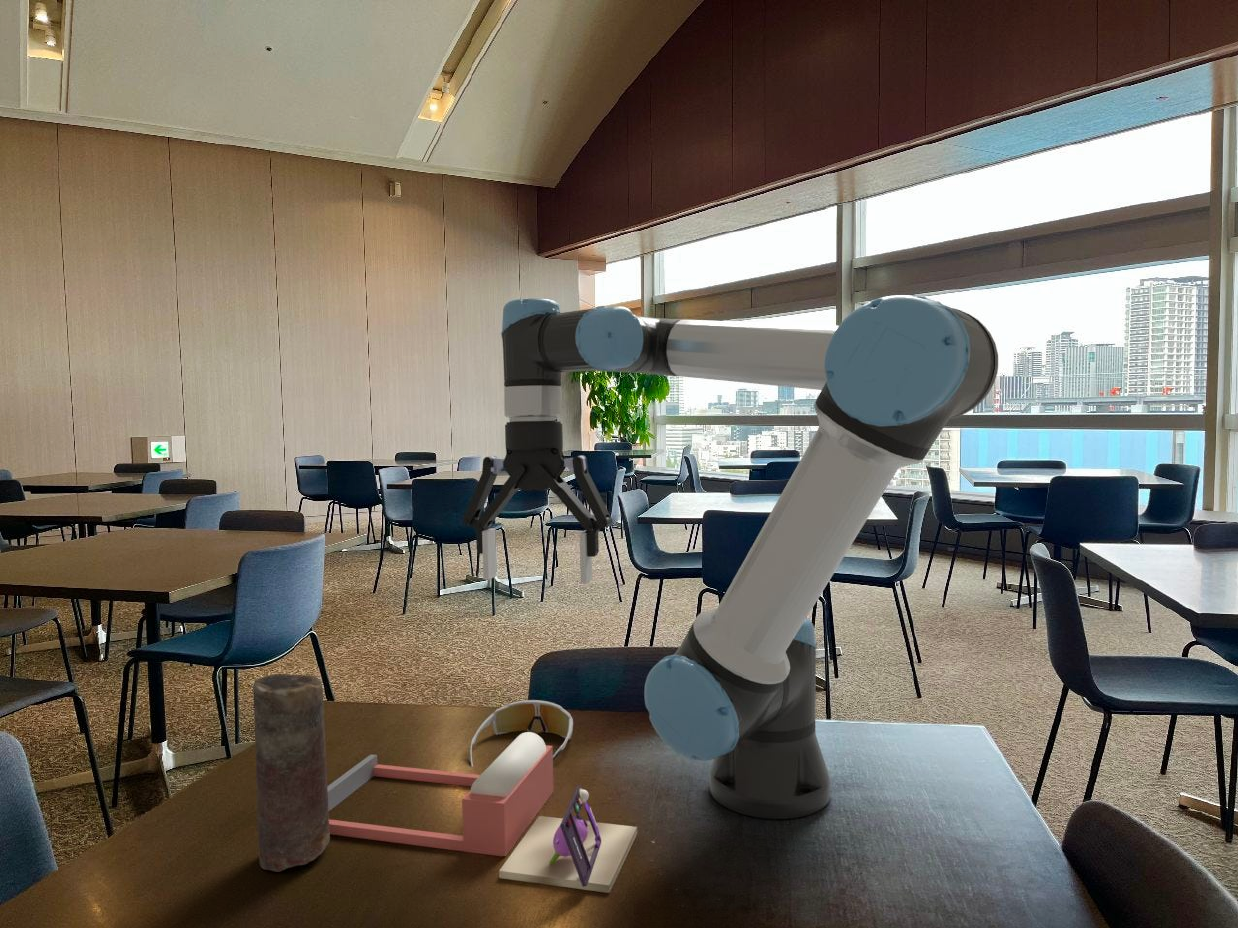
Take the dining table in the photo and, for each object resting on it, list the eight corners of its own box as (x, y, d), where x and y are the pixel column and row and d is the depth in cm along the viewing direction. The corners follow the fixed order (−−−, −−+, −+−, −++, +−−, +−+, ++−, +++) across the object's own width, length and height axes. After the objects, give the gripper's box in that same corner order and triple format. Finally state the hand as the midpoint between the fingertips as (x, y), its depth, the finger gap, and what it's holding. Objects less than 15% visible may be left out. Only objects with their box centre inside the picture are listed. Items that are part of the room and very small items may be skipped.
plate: (637, 833, 94) (637, 826, 94) (609, 892, 82) (609, 885, 82) (539, 822, 97) (539, 815, 97) (499, 877, 85) (499, 870, 85)
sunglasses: (583, 732, 125) (581, 702, 124) (555, 789, 110) (552, 756, 109) (497, 726, 128) (494, 697, 127) (458, 781, 114) (455, 748, 113)
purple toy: (570, 822, 82) (586, 782, 90) (523, 836, 82) (544, 795, 91) (593, 884, 82) (607, 838, 90) (546, 898, 82) (565, 851, 91)
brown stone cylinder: (278, 837, 94) (271, 668, 93) (341, 837, 94) (334, 668, 93) (246, 875, 87) (237, 691, 85) (314, 874, 86) (306, 690, 85)
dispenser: (553, 791, 105) (552, 729, 104) (505, 856, 89) (503, 783, 89) (371, 772, 111) (369, 713, 111) (297, 829, 96) (294, 762, 96)
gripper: (632, 417, 107) (635, 576, 108) (459, 421, 113) (463, 571, 115) (618, 418, 100) (621, 588, 101) (433, 421, 106) (438, 581, 107)
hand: (537, 579), depth 108 cm, fingers open, 13 cm apart
